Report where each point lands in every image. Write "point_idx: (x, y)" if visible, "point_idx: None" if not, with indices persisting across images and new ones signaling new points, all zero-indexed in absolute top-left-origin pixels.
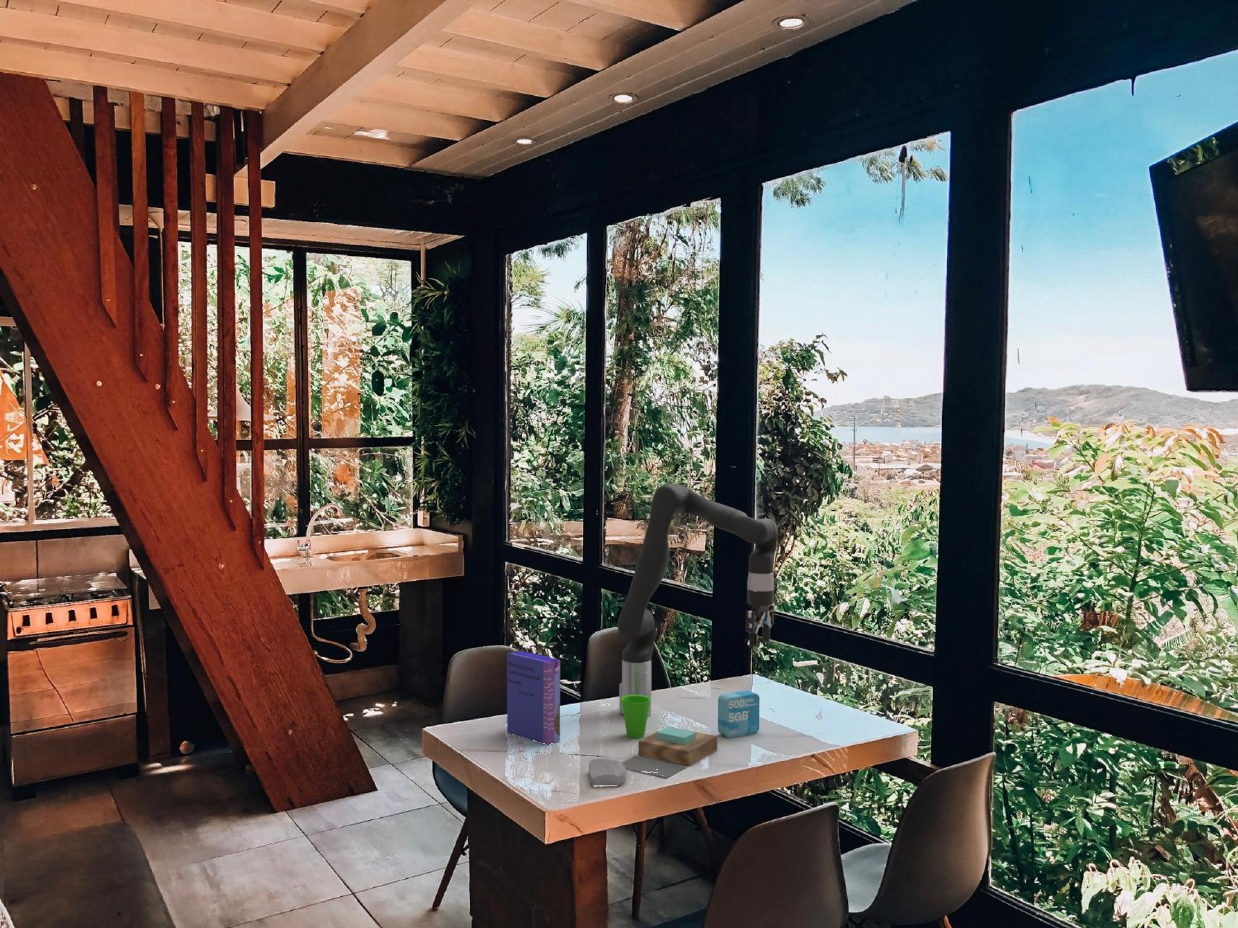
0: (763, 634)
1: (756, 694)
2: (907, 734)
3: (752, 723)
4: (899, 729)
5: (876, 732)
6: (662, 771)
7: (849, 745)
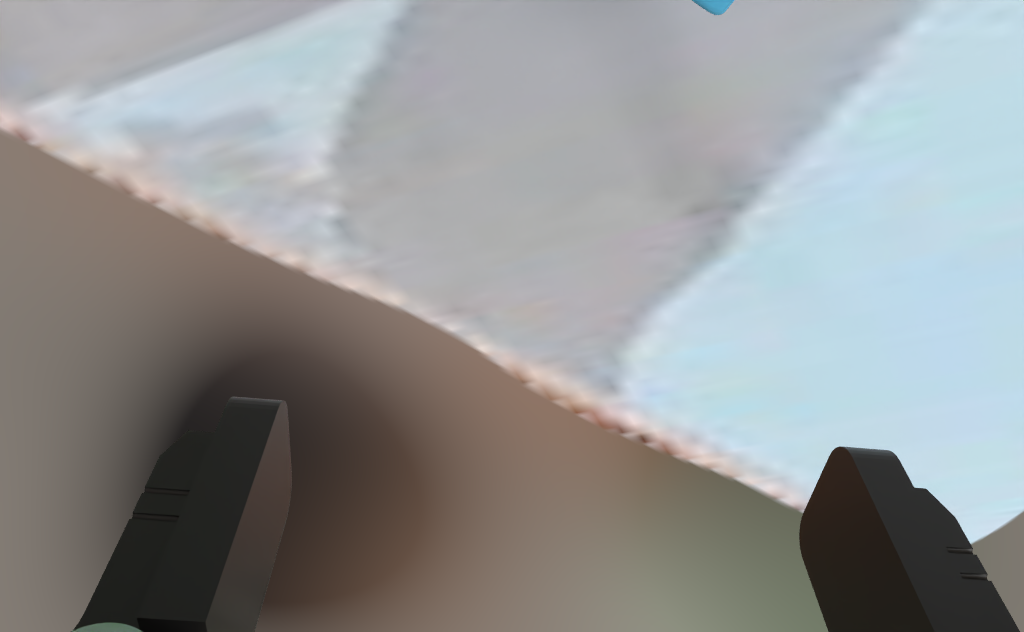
0: (877, 552)
1: (696, 3)
2: None
3: None
4: None
5: None
6: None
7: (631, 428)
